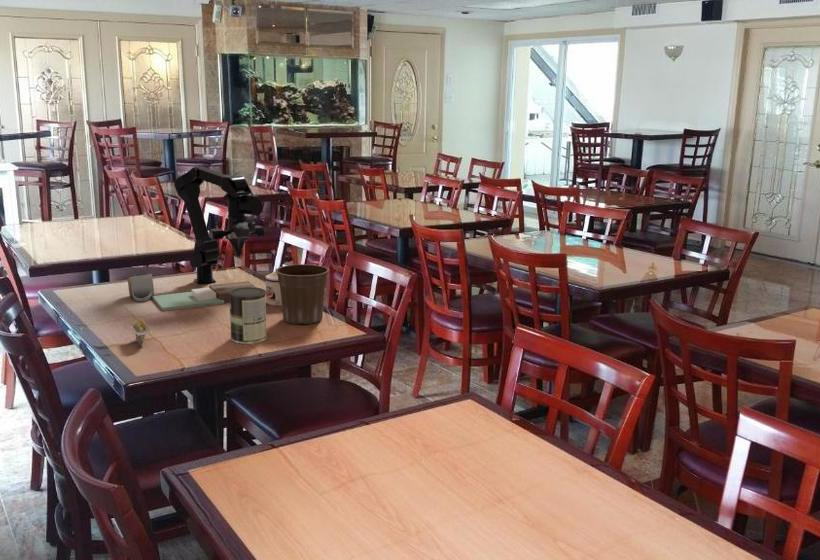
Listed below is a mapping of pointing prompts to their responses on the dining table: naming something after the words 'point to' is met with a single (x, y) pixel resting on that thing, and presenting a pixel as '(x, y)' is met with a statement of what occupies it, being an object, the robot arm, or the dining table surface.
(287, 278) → the plant pot
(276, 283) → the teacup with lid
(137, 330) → the yellow flower bouquet
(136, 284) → the ceramic mug
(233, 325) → the coffee can
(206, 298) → the ivory tile
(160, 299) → the sage mat
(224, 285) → the walnut deck
